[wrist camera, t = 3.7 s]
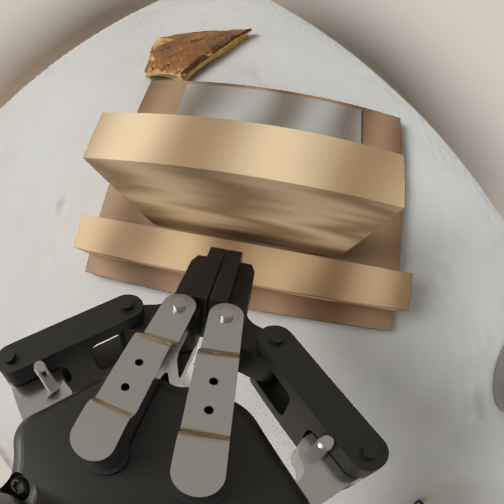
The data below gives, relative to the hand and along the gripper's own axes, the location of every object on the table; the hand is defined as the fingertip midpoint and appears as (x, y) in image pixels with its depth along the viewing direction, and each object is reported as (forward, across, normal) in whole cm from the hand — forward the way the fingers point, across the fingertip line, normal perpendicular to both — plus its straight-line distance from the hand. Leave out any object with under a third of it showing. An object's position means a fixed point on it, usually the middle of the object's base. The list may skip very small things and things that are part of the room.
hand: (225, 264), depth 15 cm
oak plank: (+8, 0, +2) cm, 8 cm away
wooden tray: (+11, 0, 0) cm, 11 cm away
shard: (+23, +10, -10) cm, 27 cm away
